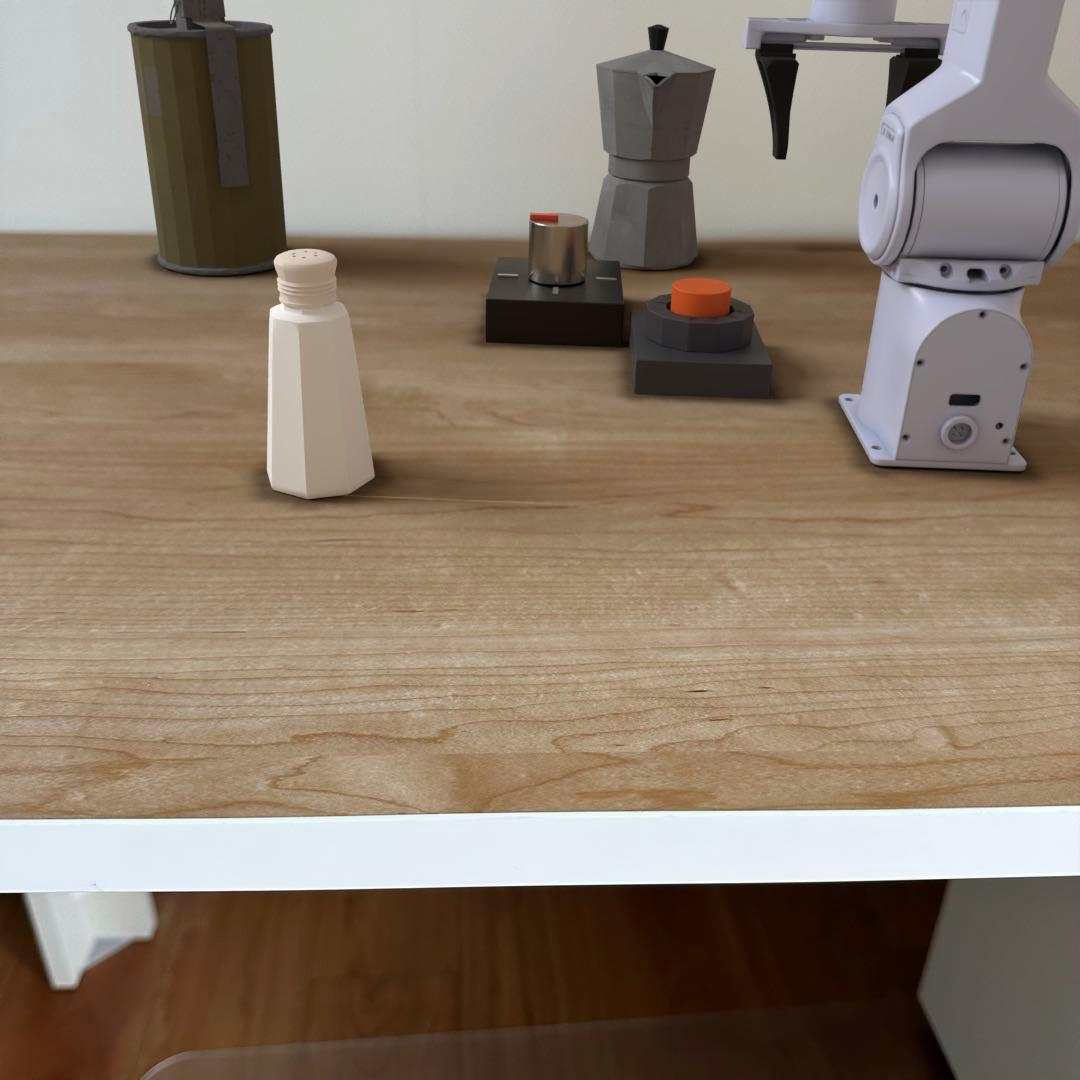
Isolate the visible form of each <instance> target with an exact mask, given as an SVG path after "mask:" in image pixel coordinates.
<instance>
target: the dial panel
mask: <svg viewBox="0 0 1080 1080" xmlns="http://www.w3.org/2000/svg"><path fill="white" fill-rule="evenodd" d="M621 268H622V267H620V261H605V260H596V259H587V265H586V279H585V281H583V282H581V283H578V284H574V285H562V286H558V285H546V284H540V283H537V282H534V281H532V280H530V279H529V277H528V257H523V256H517V257H516V256H497V257H496V261H495V264H494V269H493V272H492V276H491V280H490V283H489V286H488V290H487V295H486V298H485V343H491V344H492V343H493V344H519V345H540V346H541V345H543V346H545V345H547V346H571V347H572V346H573V347H598V348H622V345H623V330H624V328H623V327H624V315H625V313H624V312H625V300H624V290H623V280H622V279H623V278H622V269H621Z"/></svg>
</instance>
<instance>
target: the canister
mask: <svg viewBox="0 0 1080 1080" xmlns="http://www.w3.org/2000/svg"><path fill="white" fill-rule="evenodd" d="M224 1H225V0H173V4H172V7H171V11H170V13H169V19H154V20H153V19H151V20H141V21H134V22H129V23H128V24H127V26H126V30H127V32H129V34H130V41H131V42H130V43H131V49H132V55H133V64H134V71H135V79H136V85H137V93H138V101H139V109H140V115H141V123H142V124H141V125H142V131H143V138H144V146H145V153H146V161H147V167H148V168H147V169H148V173H149V183H150V190H151V197H152V204H153V211H154V219H155V220H154V221H155V226H156V228H155V229H156V234H157V235H156V236H157V241H158V251H159V253H158V254H157V262H158V263H159V265H160V266H161V267H163V268H164V269H167V270H170V271H172V272H176V273H179V274H186V275H193V276H214V277H215V276H217V277H219V276H220V277H221V276H224V277H225V276H227V277H229V276H238V275H249V274H254V273H261V272H266V271H267V272H268V271H270V270H273V269H275V266H274V259H275V258H276V256H277V255H279V254H281V253H283V252H286V251H290V250H291V249H289V248H288V242H287V229H286V228H287V227H286V217H285V216H286V215H285V203H284V189H283V188H284V187H283V176H282V163H281V150H280V135H279V125H278V124H279V123H278V109H277V97H276V85H275V83H276V82H275V71H274V70H275V69H274V58H273V56H274V55H273V44H272V34H273V33H274V32H275V31H274V27H273V25H272V24H269V23H265V22H258V21H248V20H247V21H246V20H229V19H228V20H227V19H226V9H225V8H226V7H225V2H224ZM173 11H174V15H173ZM172 16H173V17H172Z"/></svg>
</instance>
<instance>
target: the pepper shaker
mask: <svg viewBox="0 0 1080 1080" xmlns="http://www.w3.org/2000/svg"><path fill="white" fill-rule="evenodd" d="M289 250H290V251H286V252H283V253H281V254H279V255H277V256H276V258H275V259H274V266H275V268H274V269H275V271H276V274H277V278H276V281H277V283H276V284H277V290H278V291H279V297H278V300H279V304H277V305H274V306H273V307H271V308H270V309H269V320H268V364H267V365H268V367H267V368H268V371H267V430H266V431H267V439H266V443H267V444H266V472H267V475H268V479H269V483H270V487H271V490H273V491H276V492H279V493H283V494H287V495H290V496H295V497H297V498H301V499H305V500H312V499H314V500H315V499H321V498H331V497H339V496H348V495H350V494H352V493H354V492H355V491H357V490H358V489H359V488H361V487H362V486H364V485H365V484H367V483H369V482H370V481H372V480H374V478H375V477H376V474H375V468H374V462H373V457H372V456H373V455H372V449H371V443H370V436H369V431H368V424H367V417H366V412H365V411H366V410H365V406H364V399H363V393H362V386H361V379H360V373H359V367H358V366H359V365H358V361H357V360H358V359H357V354H356V348H355V341H354V335H353V330H352V323H351V319H350V315H349V312H348V310H347V308H346V307H345V304H343V303H342V302H341V301H337V300H338V296H337V294H336V293H337V292H336V290H337V288H338V286H337V284H338V282H337V276H336V270H337V266H338V258H337V257H336V256H335V254H333V253H331V252H328V251H326V250H322V249H317V248H296V249H289Z"/></svg>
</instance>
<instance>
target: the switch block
mask: <svg viewBox="0 0 1080 1080" xmlns="http://www.w3.org/2000/svg"><path fill="white" fill-rule="evenodd" d="M671 297H672V293H665V294H660V295H657V296H656V297H653V298H651V299H649V300H647V302H646V304H645V305H646V306H645V310H643V309H630V313H629V326H628V339H627V340H628V349H629V351H628V352H629V360H630V368H631V370H630V371H631V379H632V390H633V395H648V396H649V395H652V396H653V395H654V396H674V397H675V396H677V397H680V396H681V397H702V398H704V397H705V398H727V399H728V398H729V399H731V398H733V399H754V400H755V399H757V400H769V399H770V390H771V384H772V376H773V375H772V374H773V367H774V365H773V362H772V360H771V358H770V355H769V352H768V350H767V349H766V345H765V344H764V341H763V339H762V336H761V334H760V332H759V330H758V327H757V325H756V322H755V311H754V310H753V308H752V305H750V304H748V303H746V302H744V301H742V300H739V299H737V298H735V297H731V300H730V309H729V315H728V316H721V317H714V318H706V317H691V316H686V315H681V314H676V313H674V312H672V311H670V309H671Z"/></svg>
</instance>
